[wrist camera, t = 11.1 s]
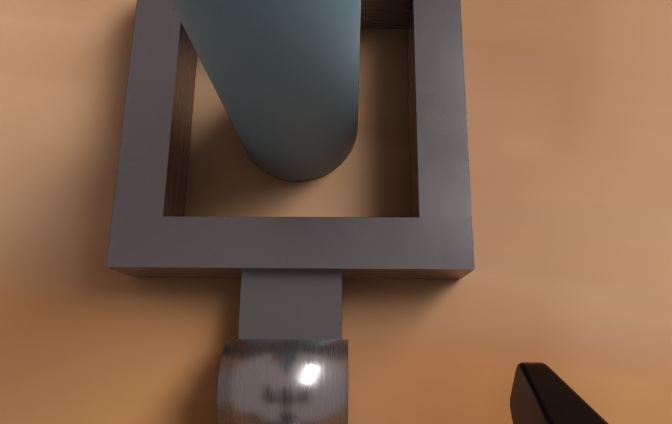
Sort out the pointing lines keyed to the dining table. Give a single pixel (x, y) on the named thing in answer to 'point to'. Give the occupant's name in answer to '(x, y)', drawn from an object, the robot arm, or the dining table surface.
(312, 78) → the pin
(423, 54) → the grey square frame handle
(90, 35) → the dining table surface
